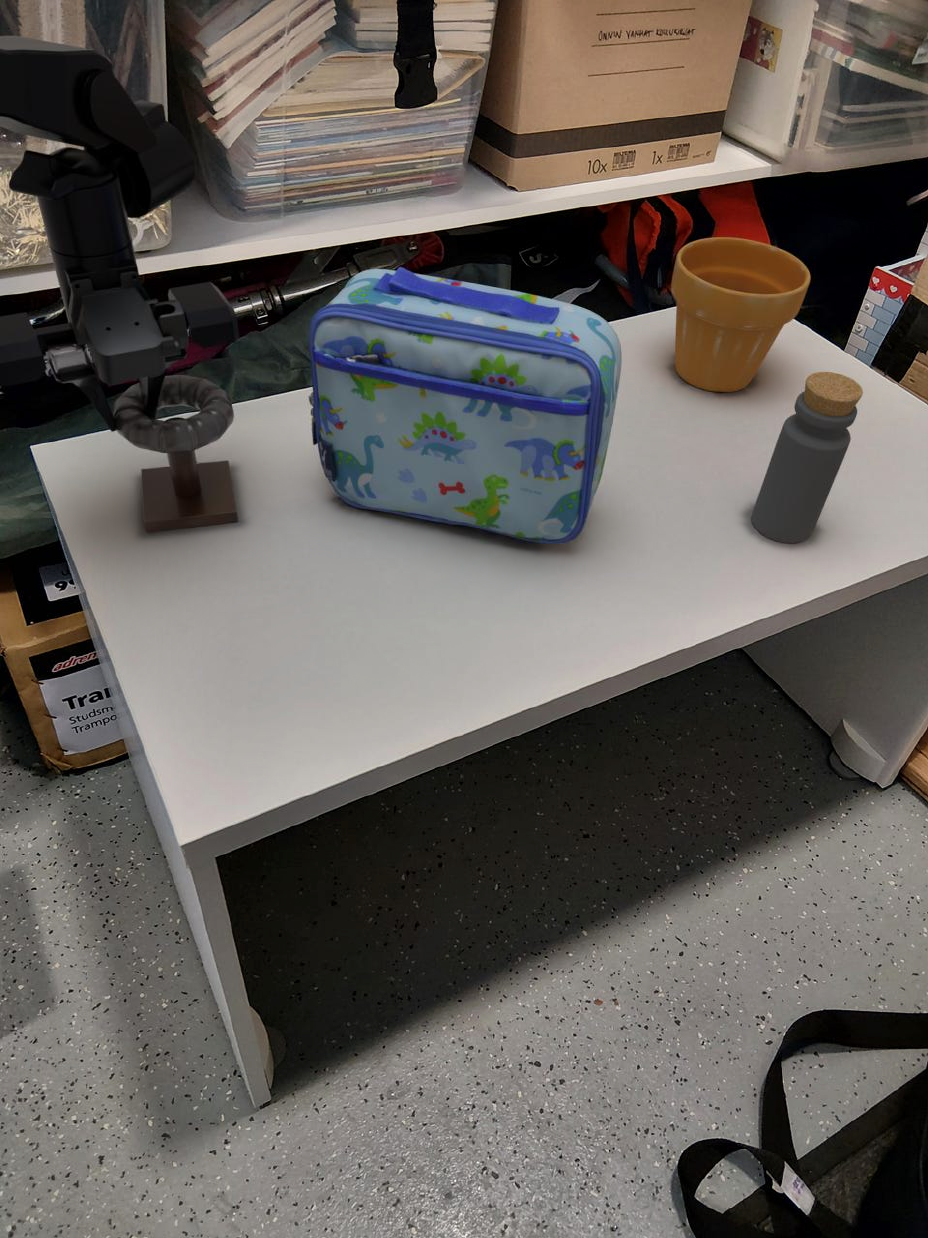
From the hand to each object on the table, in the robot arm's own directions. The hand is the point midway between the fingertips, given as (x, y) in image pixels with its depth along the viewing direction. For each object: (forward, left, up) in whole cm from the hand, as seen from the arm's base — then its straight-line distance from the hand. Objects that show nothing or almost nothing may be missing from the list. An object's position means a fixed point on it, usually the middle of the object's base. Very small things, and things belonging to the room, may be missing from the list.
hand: (131, 424), depth 79 cm
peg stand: (+4, +1, -9) cm, 10 cm away
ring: (+4, +1, 0) cm, 4 cm away
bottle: (+58, -13, -9) cm, 60 cm away
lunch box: (+28, -4, -9) cm, 29 cm away
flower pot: (+64, +14, -9) cm, 66 cm away
